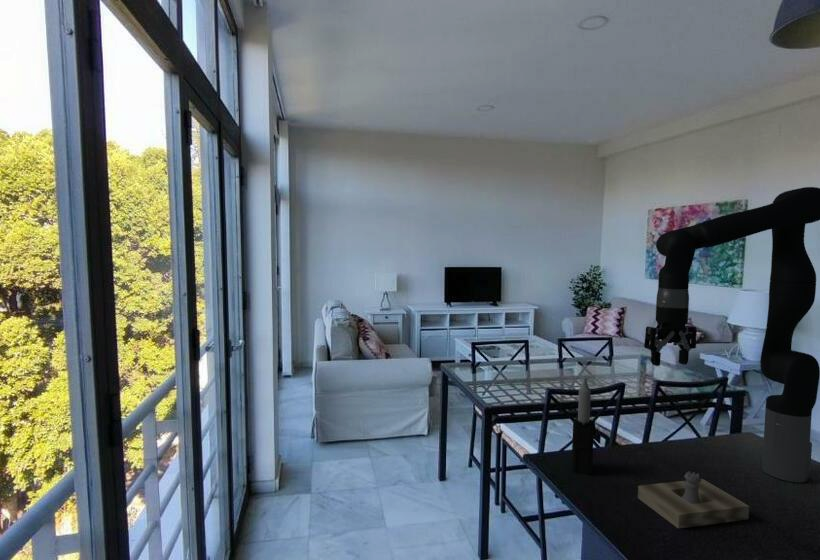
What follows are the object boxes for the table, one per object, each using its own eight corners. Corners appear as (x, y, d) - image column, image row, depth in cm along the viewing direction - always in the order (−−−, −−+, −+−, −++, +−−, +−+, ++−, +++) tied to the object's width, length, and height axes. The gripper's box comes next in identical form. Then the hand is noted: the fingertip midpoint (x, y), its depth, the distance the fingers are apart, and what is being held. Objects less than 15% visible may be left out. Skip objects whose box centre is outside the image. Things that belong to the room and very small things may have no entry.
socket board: (701, 490, 108) (702, 478, 108) (748, 519, 97) (749, 506, 97) (637, 497, 105) (638, 485, 105) (678, 528, 93) (679, 514, 93)
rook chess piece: (706, 515, 98) (708, 480, 98) (684, 512, 99) (685, 477, 99) (697, 504, 102) (699, 470, 102) (676, 501, 103) (678, 468, 103)
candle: (592, 467, 120) (596, 376, 118) (591, 476, 115) (595, 381, 114) (572, 463, 122) (575, 374, 120) (570, 471, 117) (574, 378, 116)
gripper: (683, 303, 124) (680, 360, 125) (639, 303, 121) (636, 362, 122) (706, 306, 117) (703, 367, 118) (660, 307, 114) (657, 369, 115)
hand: (669, 364), depth 120 cm, fingers open, 8 cm apart
